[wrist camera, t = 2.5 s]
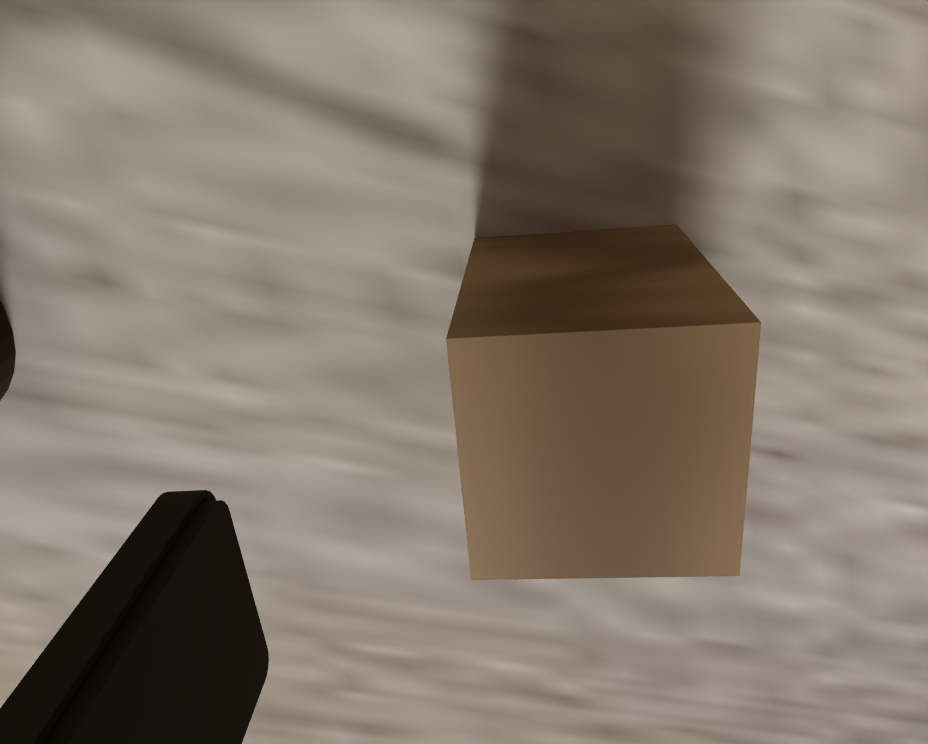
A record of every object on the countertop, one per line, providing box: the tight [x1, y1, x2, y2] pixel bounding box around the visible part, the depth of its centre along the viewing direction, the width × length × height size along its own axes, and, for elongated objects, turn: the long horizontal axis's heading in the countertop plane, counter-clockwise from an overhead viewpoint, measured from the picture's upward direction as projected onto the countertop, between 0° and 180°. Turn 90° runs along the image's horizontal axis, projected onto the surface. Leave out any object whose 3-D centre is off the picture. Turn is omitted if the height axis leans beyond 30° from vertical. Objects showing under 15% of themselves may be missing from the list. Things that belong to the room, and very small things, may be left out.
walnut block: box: [446, 225, 761, 580], centre depth 16 cm, size 5×5×7 cm
